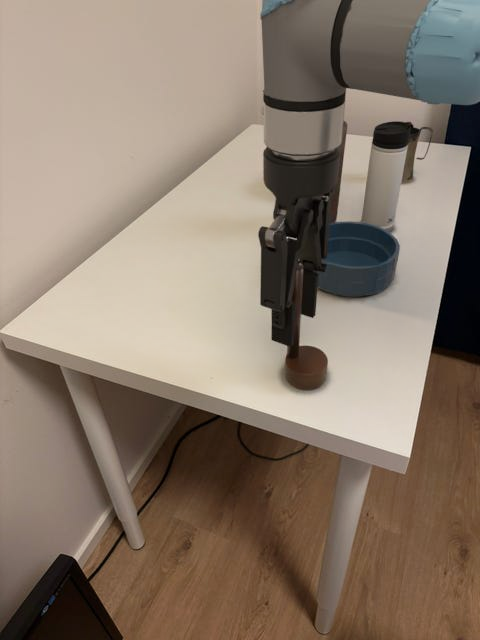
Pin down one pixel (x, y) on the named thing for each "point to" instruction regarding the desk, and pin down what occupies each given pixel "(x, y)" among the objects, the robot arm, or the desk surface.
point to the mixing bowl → (358, 259)
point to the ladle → (303, 350)
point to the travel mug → (385, 173)
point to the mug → (412, 153)
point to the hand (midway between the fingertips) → (294, 327)
